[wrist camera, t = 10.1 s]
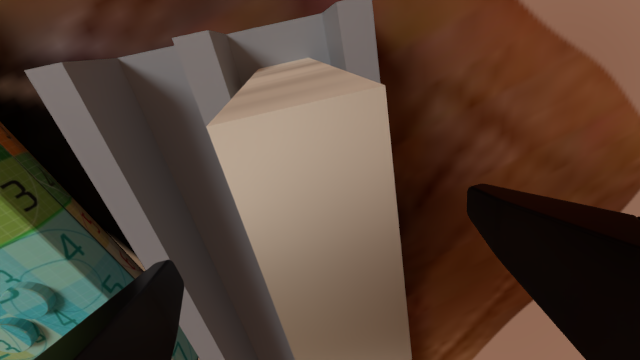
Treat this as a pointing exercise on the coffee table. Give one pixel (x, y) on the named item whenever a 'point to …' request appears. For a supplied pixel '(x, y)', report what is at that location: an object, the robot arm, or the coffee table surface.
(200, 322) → the rack
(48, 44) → the coffee table surface
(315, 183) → the beige square panel
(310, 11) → the coffee table surface
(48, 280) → the puzzle game
